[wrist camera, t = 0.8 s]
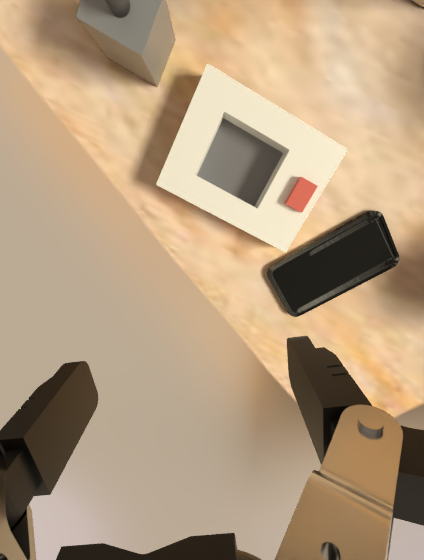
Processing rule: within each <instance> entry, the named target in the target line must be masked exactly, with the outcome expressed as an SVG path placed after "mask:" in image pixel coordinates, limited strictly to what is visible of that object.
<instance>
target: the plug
mask: <svg viewBox="0 0 424 560" xmlns="http://www.w3.org/2000/svg"><path fill="white" fill-rule="evenodd" d="M76 18H77V19H78V20H79V22H80V23H81V24H82V26H83V27H84V28H85V29H86V31H87V32H88V33H89V35H90V36H91V37H92V38H93V40H94V41H95V42H96V44H97V45H98V46H99V47H100V49H101V50H102V51H103V53H104V54H105V55H106V57H107V58H108V59H110V60H112V61H113V62H115V63H117V64H119V65H120V66H122V67H124V68H126V69H127V70H129V71H131V72H132V73H134V74H136V75H138V76H139V77H141V78H143V79H145V80H146V81H148V82H150V83H151V84H153V85H155V86H157V87H158V84H159V82H160V79H161V76H162V74H163V71H164V69H165V66H166V63H167V61H168V58H169V56H170V53H171V51H172V48H173V45H174V43H175V36H174V32H173V28H172V23H171V19H170V15H169V10H168V6H167V2H166V0H81V1H80V4H79V8H78V11H77V15H76Z"/></svg>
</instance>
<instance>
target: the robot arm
mask: <svg viewBox="0 0 424 560" xmlns="http://www.w3.org/2000/svg"><path fill="white" fill-rule="evenodd" d="M412 1H413V2H415V3H416V4H418V5H420V6H422V7H424V0H412ZM287 353H288V370H289V378H290V383H291V387H292V390H293V392H294V395H295V398H296V400H297V403H298V405H299V408H300V410H301V413H302V416H303V418H304V421H305V424H306V426H307V429H308V431H309V434H310V437H311V439H312V442H313V445H314V447H315V450H316V452H317V455H318V457H319V460H320V463H321V465H322V466H321V468H320V470H319V471H315V470H314V471H312V473H311V474H310V476H309V478H308V480H307V483H306V485H305V487H304V490H303V492H302V495H301V497H300V499H299V502H298V504H297V507H296V509H295V512H294V514H293V516H292V519H291V521H290V524H289V526H288V528H287V531H286V533H285V536H284V538H283V541H282V543H281V545H280V548H279V550H278V553H277V555H276V558H275V560H388V557H389V550H390V543H391V535H392V528H393V520H394V518H397V519H402V520H405V521H409V522H412V523H416V524H420V525H424V430H418V429H412V428H407V427H404V426H400V425H399V423H398V422H397V421H396V420H395V419H394V418H393V417H392V416H391V415H390V414H388V413H387V412H385V411H383V410H381V409H379V408H376V407H373V406H372V405H371V403H370V402H369V401H368V399H367V398H366V396H365V395H364V394H363V392H362V391H361V390H360V388H359V387H358V385H357V384H356V383H355V381H354V380H353V378H352V377H351V376H350V375H349V374H348V371H347V370H346V369H345V367H344V366H343V364H342V363H341V362H340V360H339V359H338V357H337V356H336V355H335V354H334V353H332V352H330V351H329V350H327V349H326V348H324V347H323V348H315V347H314V345H313V344H312V342H311V340H310V339H309V337H308V336H301V337H293V338H288V339H287ZM97 403H98V393H97V389H96V386H95V384H94V381H93V377H92V374H91V372H90V369H89V366H88V364H87V363H86V362H85V361H80V362H72V363H65V364H63V365H62V366H61V367H60V369H59V370H58V371H57V372H56V373H55V375H54V376H53V377H52V378H50V379H49V380H48V381H46V382H45V383H43V384H42V385H41V386H39V387H38V388H37V389H36V390H35V391H34V393H33V394H32V395H31V396H30V397H29V400H27V401H26V402H25V403H24V404H23V405H22V407H21V409H19V410H18V411H17V412H16V413H15V414H14V416H13V417H12V418H11V419H10V420H9V421H8V422H7V423H6V425H5V426H4V427H3V428H2V429H1V430H0V560H36V552H35V542H34V530H33V519H32V511H31V508H30V506H29V503H30V501H31V500H32V498H33V496H39V495H50V494H51V492H52V490H53V488H54V486H55V485H56V483H57V481H58V479H59V477H60V475H61V473H62V472H63V470H64V468H65V466H66V464H67V462H68V460H69V458H70V456H71V455H72V453H73V451H74V449H75V447H76V445H77V443H78V441H79V440H80V438H81V436H82V434H83V432H84V430H85V428H86V426H87V424H88V423H89V421H90V419H91V417H92V415H93V413H94V411H95V410H96V407H97ZM56 560H261V559H259V558H258V557H256V556H254V555H251V554H249V553H247V552H244V551H240V550H237V545H236V539H235V534H234V533H228V534H215V535H204V536H203V535H202V536H191V537H188V538H186V539H183V540H181V541H178V542H176V543H173V544H171V545H168V546H166V547H163V548H161V549H158V550H155V551H153V552H151V553H148V554H137V553H134V552H130V551H127V550H124V549H120V548H117V547H114V546H110V545H107V544H103V543H102V544H89V545H76V546H64V547H61V549H60V552H59V554H58V556H57V559H56Z"/></svg>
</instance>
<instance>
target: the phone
mask: <svg viewBox="0 0 424 560" xmlns="http://www.w3.org/2000/svg"><path fill="white" fill-rule="evenodd" d="M398 261H399V254H398V252H397V249H396V247H395V244H394V242H393V239H392V237H391V234H390V232H389V229H388V227H387V224H386V222H385V219H384V217H383V215H382V214H381V213H380V212H378V211H369V212H367V213H365V214H363V215H361V216H359V217H357V218H356V219H354V220H351V221H350V222H348V223H346V224H345V225H343V226H340V227H339V228H337V229H336V230H334V231H332V232H331V233H329V234H327V235H325V236H323V237H322V238H320V239H318V240H316V241H314V242H313V243H311V244H309V245H307V246H305V247H304V248H302V249H300V250H298V251H297V252H295V253H293V254H291V255H289V256H288V257H286V258H284V259H282V260H280V261H279V262H277V263H275V264H273V265H272V266H270V267H269V269H268V271H267V275H268V277H269V279H270V281H271V283H272V285H273V286H274V288H275V290H276V292H277V294H278V295H279V297H280V299H281V301H282V302H283V304H284V306H285V308H286V310H287V311H288V313H289V314H290V315H291V316H294V317H298V316H300V315H302V314H304V313H306V312H308V311H310V310H312V309H314V308H316V307H318V306H320V305H322V304H324V303H326V302H328V301H329V300H331V299H333V298H335V297H337V296H339V295H341V294H343V293H345V292H347V291H349V290H351V289H353V288H355V287H357V286H358V285H360V284H362V283H364V282H366V281H368V280H370V279H372V278H374V277H376V276H378V275H380V274H382V273H384V272H386V271H387V270H389V269H391V268H393V267H395V266H396V265H397V264H398Z"/></svg>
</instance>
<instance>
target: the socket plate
mask: <svg viewBox="0 0 424 560" xmlns="http://www.w3.org/2000/svg"><path fill="white" fill-rule="evenodd" d="M347 150H348V149H347V148H345V147H344V146H342V145H340V144H339V143H337V142H335V141H334V140H332V139H330V138H329V137H327V136H326V135H324V134H322V133H321V132H319V131H317V130H316V129H314V128H312V127H311V126H309V125H308V124H306V123H304V122H303V121H301V120H299V119H298V118H296V117H294V116H293V115H291V114H290V113H288V112H286V111H285V110H283V109H281V108H280V107H278V106H276V105H275V104H273V103H272V102H270V101H268V100H267V99H265V98H263V97H262V96H260V95H258V94H257V93H255V92H254V91H252V90H250V89H249V88H247V87H245V86H244V85H242V84H240V83H239V82H237V81H236V80H234V79H232V78H231V77H229V76H227V75H226V74H224V73H222V72H221V71H219V70H218V69H216V68H214V67H213V66H211V65H209V64H208V63H207V65H206V68H205V70H204V72H203V75H202V77H201V79H200V82H199V84H198V87H197V89H196V91H195V94H194V96H193V98H192V101H191V103H190V105H189V108H188V110H187V112H186V115H185V117H184V120H183V122H182V124H181V127H180V129H179V131H178V134H177V136H176V138H175V141H174V143H173V146H172V148H171V150H170V153H169V155H168V157H167V160H166V162H165V164H164V167H163V169H162V171H161V174H160V176H159V179H158V181H157V183H156V185H157V186H159V187H161V188H163V189H165V190H167V191H169V192H171V193H173V194H175V195H176V196H178V197H180V198H182V199H184V200H186V201H188V202H190V203H192V204H194V205H196V206H197V207H199V208H201V209H203V210H205V211H207V212H209V213H211V214H213V215H215V216H217V217H218V218H220V219H222V220H224V221H226V222H228V223H230V224H232V225H234V226H236V227H238V228H240V229H241V230H243V231H245V232H247V233H249V234H251V235H253V236H255V237H257V238H259V239H261V240H262V241H264V242H266V243H268V244H270V245H272V246H274V247H276V248H278V249H280V250H282V251H283V252H285V253H286V251H287V250H288V248H289V246H290V245H291V243H292V241H293V240H294V238H295V236H296V235H297V233H298V231H299V230H300V228H301V226H302V225H303V223H304V221H305V220H306V218H307V216H308V215H309V213H310V211H311V210H312V208H313V207H314V205H315V203H316V202H317V200H318V198H319V197H320V195H321V193H322V192H323V190H324V188H325V187H326V185H327V183H328V182H329V180H330V178H331V177H332V175H333V173H334V172H335V170H336V168H337V167H338V165H339V163H340V162H341V160H342V158H343V157H344V155H345V154H346V152H347Z"/></svg>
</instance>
